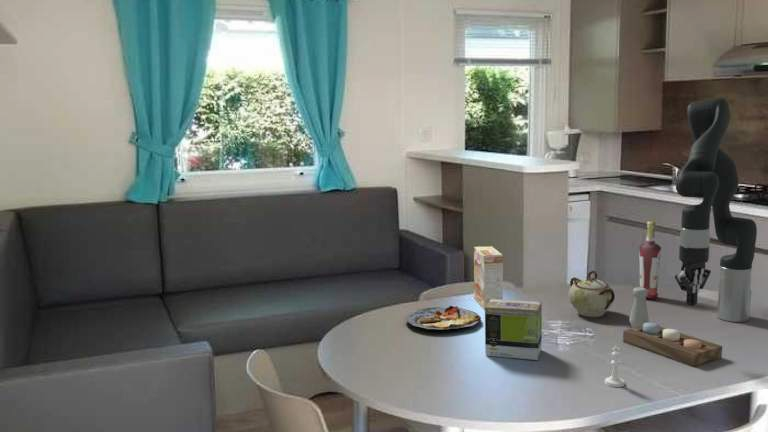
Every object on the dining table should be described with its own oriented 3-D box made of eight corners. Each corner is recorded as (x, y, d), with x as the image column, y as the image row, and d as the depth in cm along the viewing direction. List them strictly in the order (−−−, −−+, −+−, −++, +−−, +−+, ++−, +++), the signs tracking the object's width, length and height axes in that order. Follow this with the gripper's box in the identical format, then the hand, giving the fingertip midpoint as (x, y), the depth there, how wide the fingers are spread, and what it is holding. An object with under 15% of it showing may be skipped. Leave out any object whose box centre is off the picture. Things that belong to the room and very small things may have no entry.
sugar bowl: (629, 317, 232) (631, 273, 230) (596, 325, 225) (597, 279, 223) (586, 303, 249) (587, 262, 247) (554, 309, 242) (554, 267, 240)
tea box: (541, 349, 205) (542, 300, 202) (537, 361, 195) (538, 310, 193) (490, 344, 209) (490, 296, 207) (484, 356, 200) (484, 306, 198)
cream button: (669, 337, 205) (669, 327, 204) (683, 342, 201) (683, 332, 200) (658, 340, 202) (659, 330, 202) (672, 345, 198) (672, 335, 198)
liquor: (656, 301, 249) (659, 224, 244) (635, 298, 253) (638, 222, 248) (660, 296, 255) (664, 220, 251) (640, 293, 259) (642, 219, 254)
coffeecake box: (473, 298, 258) (473, 246, 255) (492, 297, 259) (492, 245, 256) (483, 310, 244) (483, 255, 241) (503, 309, 244) (503, 254, 241)
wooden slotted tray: (650, 334, 215) (650, 323, 215) (721, 358, 195) (722, 346, 194) (623, 341, 209) (623, 330, 209) (693, 367, 189) (694, 354, 188)
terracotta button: (690, 348, 199) (690, 338, 198) (704, 353, 195) (705, 342, 194) (679, 351, 197) (680, 341, 196) (694, 356, 193) (694, 346, 192)
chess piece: (601, 380, 182) (602, 343, 180) (619, 379, 182) (621, 342, 180) (609, 387, 177) (610, 349, 175) (628, 386, 177) (629, 348, 175)
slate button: (649, 331, 211) (650, 321, 210) (662, 335, 207) (662, 325, 206) (639, 334, 208) (639, 324, 208) (652, 338, 204) (652, 328, 204)
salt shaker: (649, 331, 218) (651, 291, 216) (630, 330, 219) (631, 290, 217) (646, 325, 224) (648, 286, 221) (627, 324, 225) (629, 285, 223)
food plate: (462, 309, 246) (462, 299, 245) (493, 329, 224) (493, 319, 223) (395, 317, 238) (395, 307, 237) (420, 339, 216) (420, 328, 216)
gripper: (697, 238, 198) (694, 298, 201) (666, 244, 192) (664, 306, 195) (721, 243, 192) (718, 304, 195) (691, 249, 185) (688, 312, 188)
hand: (691, 304), depth 195 cm, fingers closed
